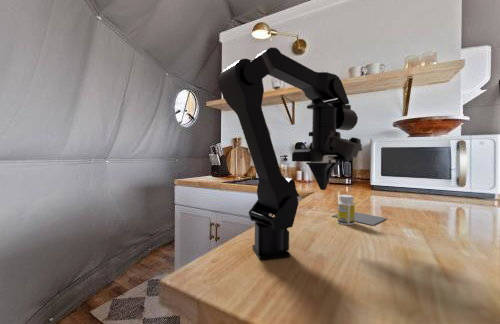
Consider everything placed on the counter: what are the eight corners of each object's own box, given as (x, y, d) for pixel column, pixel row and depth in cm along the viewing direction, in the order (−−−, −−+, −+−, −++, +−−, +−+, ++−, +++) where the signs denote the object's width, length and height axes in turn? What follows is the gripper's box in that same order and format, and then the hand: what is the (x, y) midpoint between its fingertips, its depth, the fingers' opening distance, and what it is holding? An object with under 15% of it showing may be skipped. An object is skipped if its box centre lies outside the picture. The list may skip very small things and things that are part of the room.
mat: (372, 225, 68) (372, 224, 68) (332, 216, 78) (332, 215, 78) (386, 219, 75) (386, 218, 75) (347, 211, 85) (347, 210, 85)
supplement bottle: (351, 221, 73) (351, 194, 72) (356, 225, 68) (357, 197, 68) (335, 220, 73) (336, 194, 73) (340, 225, 68) (340, 197, 68)
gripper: (335, 121, 46) (333, 199, 46) (373, 128, 58) (371, 190, 58) (290, 126, 54) (289, 192, 55) (332, 131, 66) (331, 185, 67)
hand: (323, 189), depth 58 cm, fingers closed
